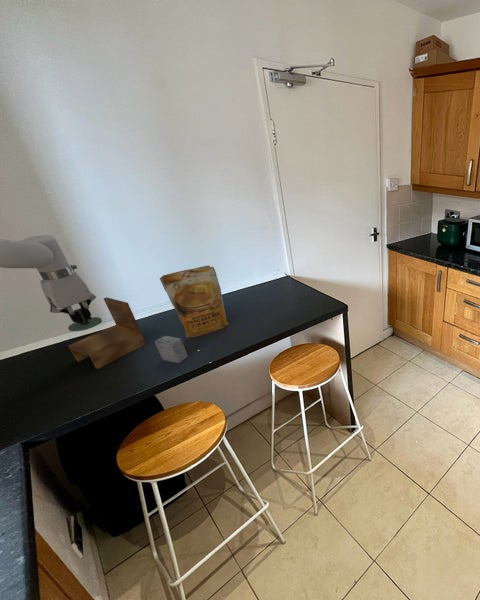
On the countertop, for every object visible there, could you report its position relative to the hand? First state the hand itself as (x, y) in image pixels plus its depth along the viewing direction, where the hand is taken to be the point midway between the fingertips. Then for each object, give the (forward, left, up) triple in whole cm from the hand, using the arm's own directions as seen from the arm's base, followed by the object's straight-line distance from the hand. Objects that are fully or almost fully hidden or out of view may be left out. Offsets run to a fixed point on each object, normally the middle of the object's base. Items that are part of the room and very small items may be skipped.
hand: (83, 320), depth 112 cm
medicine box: (+9, -27, -17) cm, 33 cm away
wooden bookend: (+3, 0, -16) cm, 17 cm away
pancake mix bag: (+28, -21, -17) cm, 39 cm away
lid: (0, 0, -2) cm, 2 cm away
